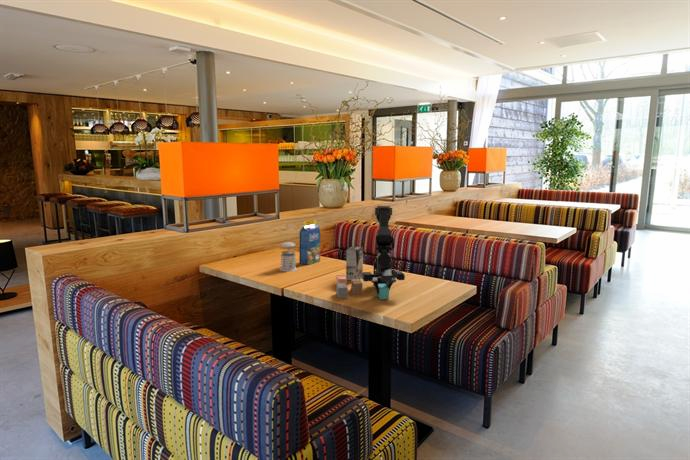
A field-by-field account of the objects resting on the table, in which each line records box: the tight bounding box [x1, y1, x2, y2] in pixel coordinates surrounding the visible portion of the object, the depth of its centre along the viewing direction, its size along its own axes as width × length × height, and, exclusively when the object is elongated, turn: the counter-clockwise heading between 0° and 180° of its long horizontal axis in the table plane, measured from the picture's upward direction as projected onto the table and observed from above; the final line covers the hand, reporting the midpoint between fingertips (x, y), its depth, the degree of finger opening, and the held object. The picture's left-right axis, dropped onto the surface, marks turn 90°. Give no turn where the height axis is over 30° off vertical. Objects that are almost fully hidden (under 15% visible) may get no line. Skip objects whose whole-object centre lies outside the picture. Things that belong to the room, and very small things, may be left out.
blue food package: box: [299, 219, 321, 266], centre depth 264 cm, size 6×12×25 cm, turn 146°
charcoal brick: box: [335, 283, 349, 300], centre depth 205 cm, size 7×4×5 cm, turn 9°
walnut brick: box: [350, 278, 363, 295], centre depth 212 cm, size 7×4×5 cm, turn 9°
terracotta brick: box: [335, 274, 348, 287], centre depth 219 cm, size 7×4×5 cm, turn 9°
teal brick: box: [376, 284, 390, 300], centre depth 204 cm, size 7×4×5 cm, turn 9°
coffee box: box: [345, 245, 364, 281], centre depth 233 cm, size 9×6×16 cm
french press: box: [279, 224, 298, 272], centre depth 248 cm, size 10×12×25 cm
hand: (382, 294), depth 204 cm, fingers closed on teal brick, 4 cm apart
